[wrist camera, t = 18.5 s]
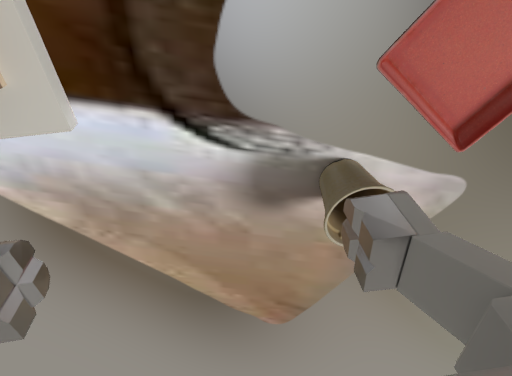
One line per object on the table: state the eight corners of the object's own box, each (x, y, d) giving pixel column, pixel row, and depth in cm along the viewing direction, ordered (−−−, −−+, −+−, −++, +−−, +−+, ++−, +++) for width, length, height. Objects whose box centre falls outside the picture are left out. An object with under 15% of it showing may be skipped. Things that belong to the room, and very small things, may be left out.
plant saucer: (445, 144, 43) (461, 156, 41) (362, 57, 36) (374, 66, 33) (584, 28, 36) (614, 34, 34) (518, -112, 28) (549, -119, 26)
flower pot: (364, 204, 48) (389, 247, 41) (302, 205, 47) (317, 249, 40) (383, 148, 42) (416, 186, 35) (313, 147, 41) (334, 186, 34)
